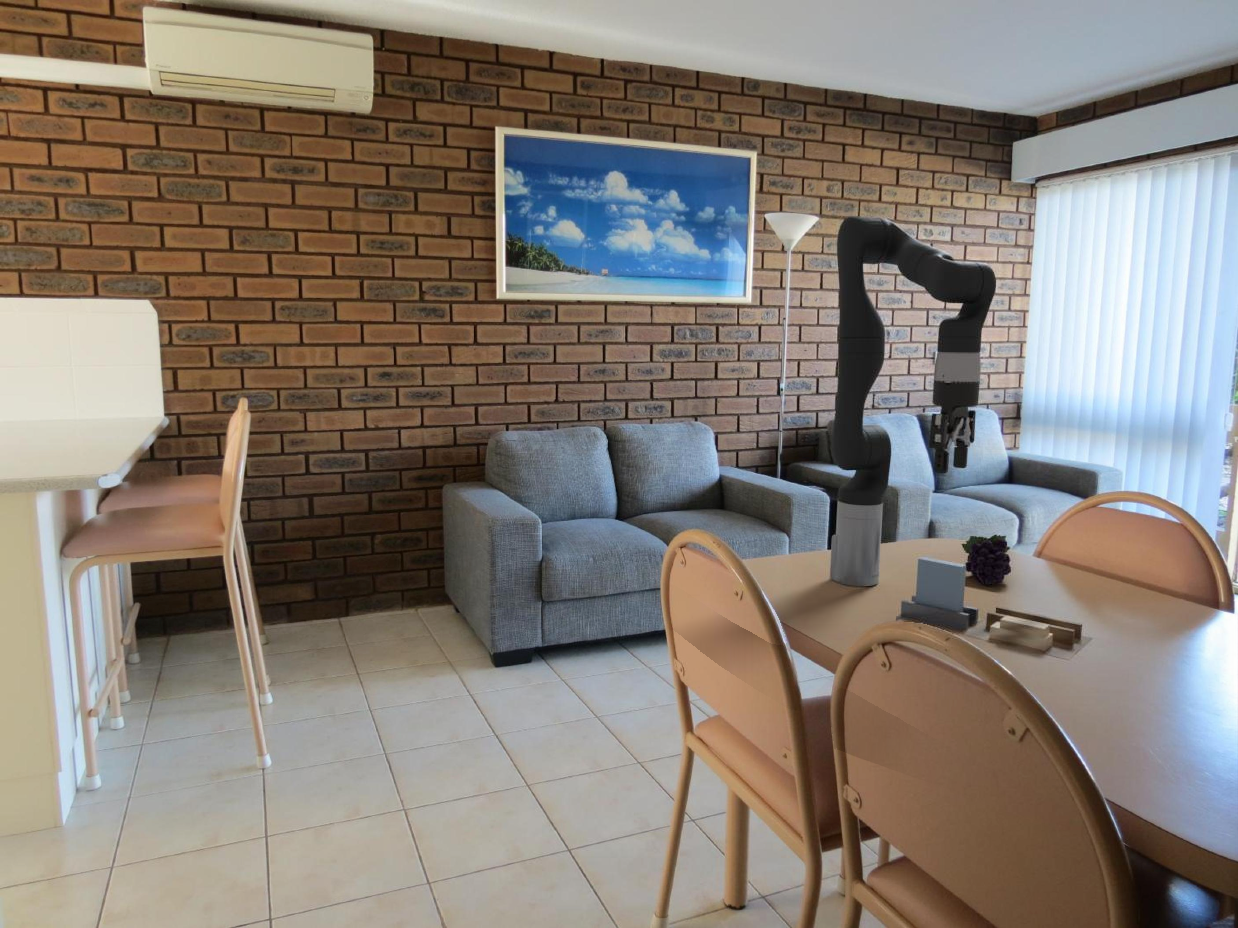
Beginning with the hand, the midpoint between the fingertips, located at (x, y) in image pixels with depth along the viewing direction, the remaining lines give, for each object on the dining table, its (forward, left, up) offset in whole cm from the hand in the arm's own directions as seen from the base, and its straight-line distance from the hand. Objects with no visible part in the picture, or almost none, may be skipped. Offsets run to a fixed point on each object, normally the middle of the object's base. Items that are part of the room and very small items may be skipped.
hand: (950, 470), depth 155 cm
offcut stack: (+15, -3, -27) cm, 31 cm away
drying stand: (0, 0, -28) cm, 28 cm away
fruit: (-4, +36, -28) cm, 46 cm away
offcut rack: (+15, +1, -28) cm, 32 cm away
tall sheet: (0, 0, -27) cm, 27 cm away
